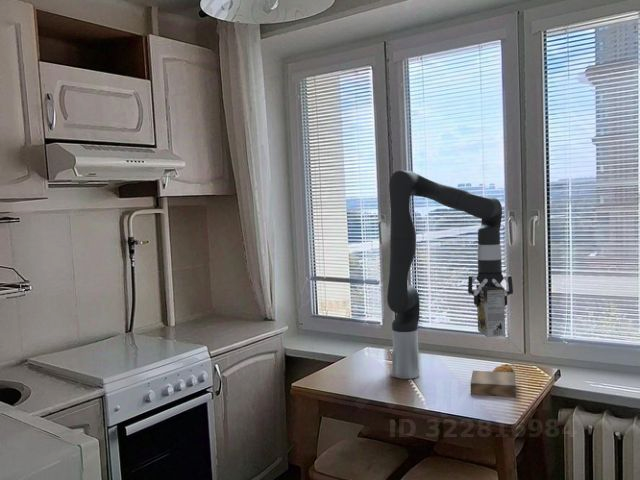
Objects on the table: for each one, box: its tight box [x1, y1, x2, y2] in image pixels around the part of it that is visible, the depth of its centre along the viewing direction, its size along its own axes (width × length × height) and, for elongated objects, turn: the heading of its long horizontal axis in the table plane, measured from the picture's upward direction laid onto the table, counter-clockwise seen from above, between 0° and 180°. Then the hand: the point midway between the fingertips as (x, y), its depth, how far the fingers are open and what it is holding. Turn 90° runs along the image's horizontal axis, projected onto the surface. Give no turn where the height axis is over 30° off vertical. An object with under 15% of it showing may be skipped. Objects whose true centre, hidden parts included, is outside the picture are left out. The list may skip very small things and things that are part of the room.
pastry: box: [492, 363, 516, 374], centre depth 200 cm, size 9×7×4 cm
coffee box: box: [475, 283, 506, 338], centre depth 185 cm, size 9×6×16 cm
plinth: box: [470, 370, 517, 399], centre depth 187 cm, size 14×14×4 cm
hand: (490, 306), depth 185 cm, fingers closed on coffee box, 8 cm apart
